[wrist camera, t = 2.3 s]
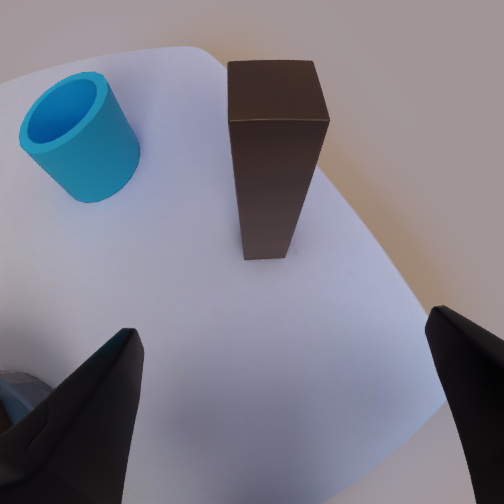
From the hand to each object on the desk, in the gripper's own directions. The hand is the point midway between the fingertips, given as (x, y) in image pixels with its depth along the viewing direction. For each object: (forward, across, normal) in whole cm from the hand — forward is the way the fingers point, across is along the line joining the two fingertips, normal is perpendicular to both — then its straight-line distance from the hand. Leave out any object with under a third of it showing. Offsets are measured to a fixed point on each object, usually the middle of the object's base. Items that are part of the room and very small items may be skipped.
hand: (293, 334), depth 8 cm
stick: (+14, 0, +4) cm, 15 cm away
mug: (+22, +15, -3) cm, 27 cm away
